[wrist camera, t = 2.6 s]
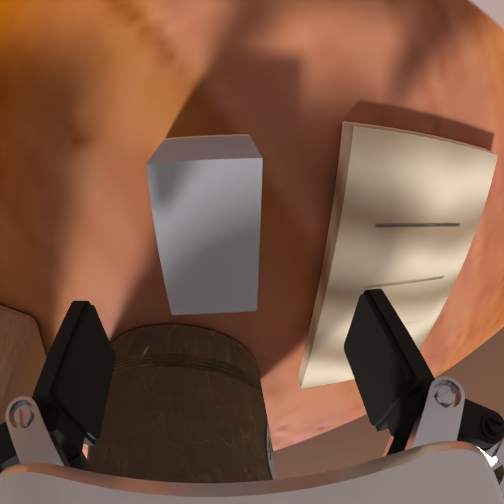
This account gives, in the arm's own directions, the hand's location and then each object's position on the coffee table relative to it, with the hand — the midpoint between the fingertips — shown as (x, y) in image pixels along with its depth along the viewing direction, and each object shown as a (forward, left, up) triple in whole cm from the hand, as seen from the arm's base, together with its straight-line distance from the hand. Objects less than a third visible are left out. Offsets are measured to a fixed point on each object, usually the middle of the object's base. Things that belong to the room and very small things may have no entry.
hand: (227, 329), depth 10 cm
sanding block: (-1, -1, -9) cm, 9 cm away
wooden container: (+16, -5, -9) cm, 19 cm away
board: (+6, +13, -9) cm, 17 cm away
